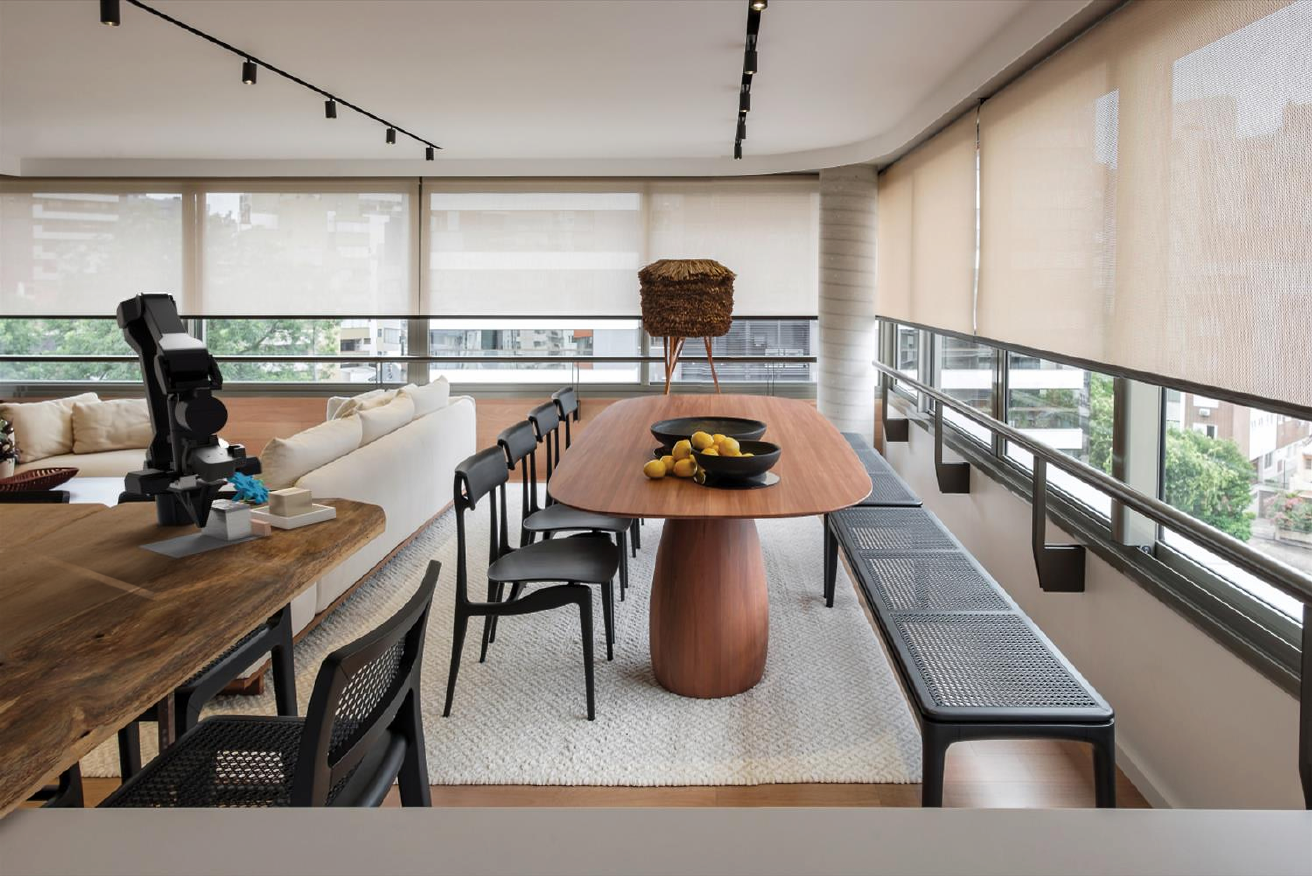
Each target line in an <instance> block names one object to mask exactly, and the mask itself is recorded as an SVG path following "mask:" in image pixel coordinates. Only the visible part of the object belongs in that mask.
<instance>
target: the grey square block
mask: <svg viewBox="0 0 1312 876" xmlns="http://www.w3.org/2000/svg"><path fill="white" fill-rule="evenodd" d="M251 508H252V507H251V504H250V503H249V504H248V503H243V502H239V501H238V502H235V501H231V500H229V499H224V498H222V499H217V500H213V503H212V506H211V510H210V513H209V517H208V520H207V524H206V527H205V528H200V529H201V532H202V535H206V536H210V537H214V538H218V539H222V540H226V541H231V540H236V539H240V538H244V537H248V536H252V535H253V532H252V522H251V512H250V510H251Z"/></svg>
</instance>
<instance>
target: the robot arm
mask: <svg viewBox="0 0 1312 876" xmlns="http://www.w3.org/2000/svg"><path fill="white" fill-rule="evenodd" d="M115 314H116V322H117V326H118V328H119V330H120V329H121V330H122V332H123V333H122V334H123V339H124V341H125V343H126V344H127V345H128V346H129V347H130V348H131V349H132V350H133V351H134V352H135V353H136V354H137V355H138V361H139V366H140V372H141V378H142V383H143V389H144V394H145V399H146V405H147V411H148V416H149V422H150V427H151V432H152V433H151V434H152V439H151V441H150V442H149V445H148V447H147V450H146V451H145V454H144V455H145V460H143V464H142V465H143V466H142V467H143V468H142V469H141V470H140V469H139V470H135V471H129V472H127V473H126V475H125V477H124V479H123V482H124V483H123V484H124V491H125V492H130V493H133V494H138V495H146V496H147V497H153V496H154V497H155V498H154V499H155V507H156V515H157V516H156V517H157V525H158V526H160V527H183V526H188V525H189V526H190V525H194V524H195V526H196V527H197V528H198V529H201V528H205V527H206V524H207V520H208V517H209V513H210V510H211V506H212V503H213V501H215V498H216V495H217V493H218V492H219V491H220V490H221V489H222V488H223V487H225V486H228V484H229V482H228V481H227V479H231V478H233V477H234V476H235V472H239V473H241V474H242V475H243V476H251V475H253V476H256V475H261V474H263V464H262V463H263V462H261V460H260V458H259V457H258V456H255V455H247V453H246V446H244V445H243V444H242V443H236V444H230V445H228V446H225V447H221V444H220V442H219V441H220V439H219V437H218V434H217V433H219V432H220V431H221V430H223V428H224V427H225V426H226V424H227V422H228V417H229V413H228V409H227V407H226V405H225V404H224V403H223V402H222V400H220V399H219V398H217V397H215V396H213V394H212V392H215V391H216V392H217V391H218V392H219V391H223V382H224V378H223V375H222V373H221V370H220V368H219V364H218V362H217V360H216V358H214V355H213V353H212V352H209V350H208V348H207V347H206V345H205V344H204V342H203V341H202V340H200V339H198V338H195V337H193V336H190V335H189V333H188V332H187V329H186V327H185V325H184V324H183V322H182V319H181V318H180V315H179V313H178V308H177V302H176V300H174V296H173V294H172V293H168V292H166V291H157V292H156V291H153V292H152V291H151V292H149V291H147V292H146V291H142V292H140V293H137V294H135V296H134V297H131V298H128V299H126V300H122V301H120V302H119V304H118V306H117V308H116V313H115ZM226 478H227V479H226ZM224 479H226V480H224Z"/></svg>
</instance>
